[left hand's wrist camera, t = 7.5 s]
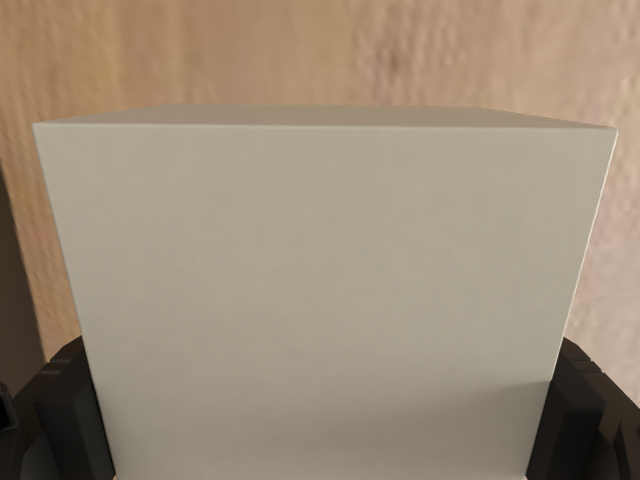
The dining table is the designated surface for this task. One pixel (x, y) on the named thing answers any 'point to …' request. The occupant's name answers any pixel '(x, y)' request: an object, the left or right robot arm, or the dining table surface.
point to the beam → (322, 283)
